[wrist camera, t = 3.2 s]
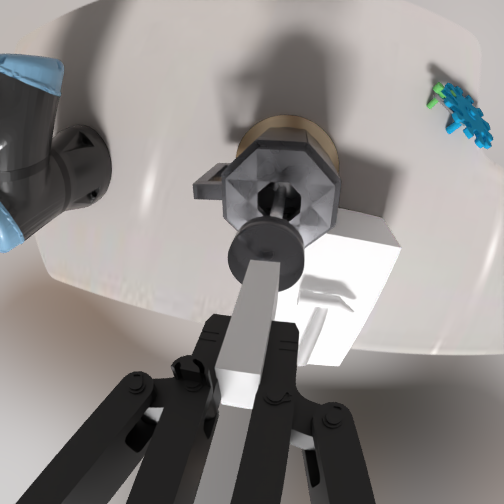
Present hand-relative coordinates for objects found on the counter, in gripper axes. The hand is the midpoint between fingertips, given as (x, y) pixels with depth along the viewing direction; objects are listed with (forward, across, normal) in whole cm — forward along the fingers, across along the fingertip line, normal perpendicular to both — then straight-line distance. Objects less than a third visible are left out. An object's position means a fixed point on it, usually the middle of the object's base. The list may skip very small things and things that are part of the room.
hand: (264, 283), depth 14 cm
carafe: (+25, -2, 0) cm, 25 cm away
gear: (+26, +24, +12) cm, 37 cm away
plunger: (+16, 0, 0) cm, 16 cm away
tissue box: (+26, +6, -18) cm, 32 cm away
